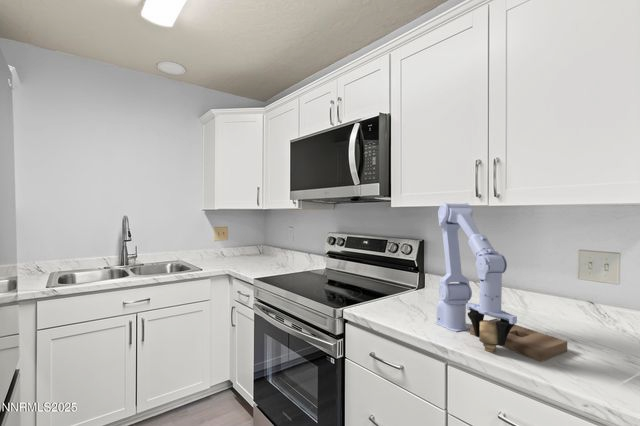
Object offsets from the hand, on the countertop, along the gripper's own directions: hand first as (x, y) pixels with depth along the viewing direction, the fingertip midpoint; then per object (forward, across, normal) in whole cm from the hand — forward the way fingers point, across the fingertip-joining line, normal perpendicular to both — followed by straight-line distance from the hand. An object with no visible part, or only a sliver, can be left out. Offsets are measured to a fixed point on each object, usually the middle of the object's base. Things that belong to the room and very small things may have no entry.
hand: (489, 340), depth 95 cm
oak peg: (+3, 0, 0) cm, 3 cm away
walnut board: (+3, 0, +13) cm, 13 cm away
